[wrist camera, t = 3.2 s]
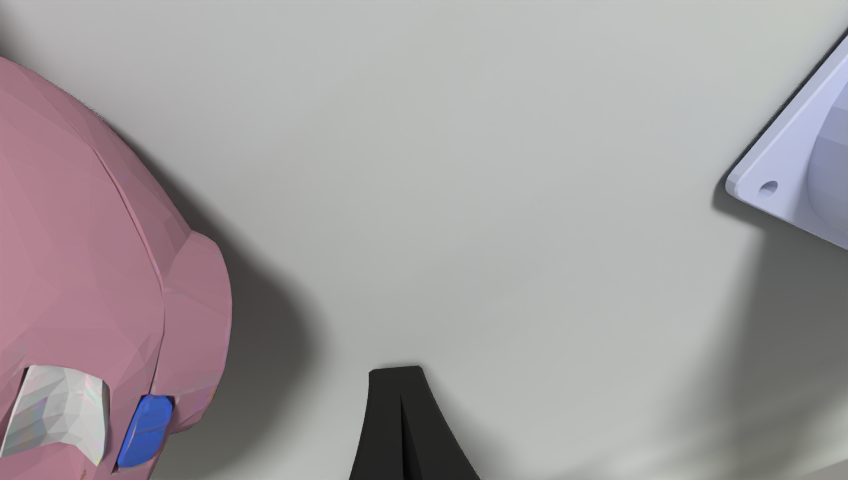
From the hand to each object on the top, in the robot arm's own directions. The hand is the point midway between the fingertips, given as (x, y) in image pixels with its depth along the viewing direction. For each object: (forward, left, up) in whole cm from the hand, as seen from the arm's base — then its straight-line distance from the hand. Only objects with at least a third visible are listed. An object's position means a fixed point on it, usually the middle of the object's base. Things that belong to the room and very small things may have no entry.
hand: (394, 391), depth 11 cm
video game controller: (+8, 0, -2) cm, 8 cm away
